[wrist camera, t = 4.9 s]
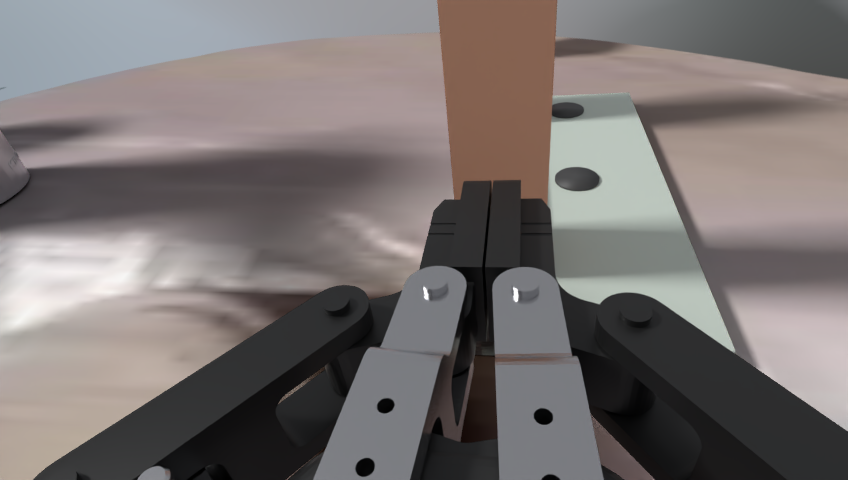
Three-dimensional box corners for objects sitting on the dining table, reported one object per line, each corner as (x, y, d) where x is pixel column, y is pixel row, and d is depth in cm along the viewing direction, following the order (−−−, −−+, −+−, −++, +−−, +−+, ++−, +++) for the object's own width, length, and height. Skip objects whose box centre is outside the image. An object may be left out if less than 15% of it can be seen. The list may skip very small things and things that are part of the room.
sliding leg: (659, 259, 23) (757, -169, 13) (459, 256, 24) (426, -126, 15) (643, 208, 26) (714, -168, 17) (466, 209, 27) (442, -133, 18)
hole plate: (729, 367, 20) (736, 348, 20) (482, 354, 22) (480, 337, 22) (627, 104, 41) (629, 90, 40) (501, 109, 42) (501, 96, 42)
